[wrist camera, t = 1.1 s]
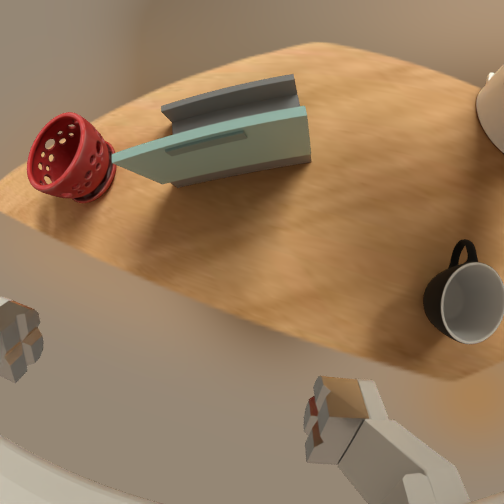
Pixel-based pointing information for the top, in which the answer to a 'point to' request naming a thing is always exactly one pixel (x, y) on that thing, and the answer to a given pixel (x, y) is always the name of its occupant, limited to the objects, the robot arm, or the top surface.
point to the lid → (220, 146)
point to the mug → (465, 298)
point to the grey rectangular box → (234, 116)
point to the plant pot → (72, 160)
